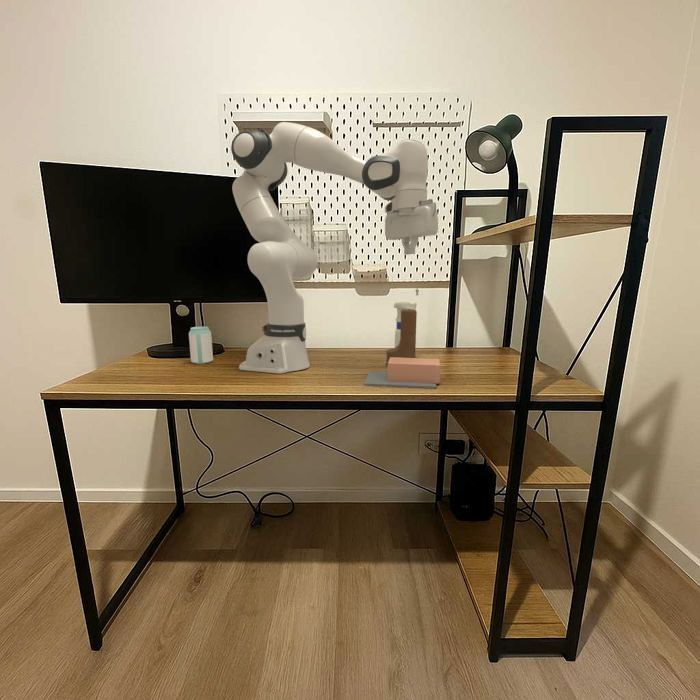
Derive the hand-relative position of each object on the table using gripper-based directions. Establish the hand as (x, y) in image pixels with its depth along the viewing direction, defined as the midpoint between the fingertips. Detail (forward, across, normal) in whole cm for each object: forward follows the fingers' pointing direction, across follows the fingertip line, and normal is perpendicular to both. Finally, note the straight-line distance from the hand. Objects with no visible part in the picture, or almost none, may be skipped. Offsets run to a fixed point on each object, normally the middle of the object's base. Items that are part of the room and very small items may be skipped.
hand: (409, 254), depth 113 cm
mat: (+35, -6, +7) cm, 36 cm away
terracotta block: (+32, -13, -2) cm, 34 cm away
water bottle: (+35, +20, -14) cm, 43 cm away
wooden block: (+35, +10, -5) cm, 37 cm away
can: (+35, +46, +52) cm, 78 cm away
